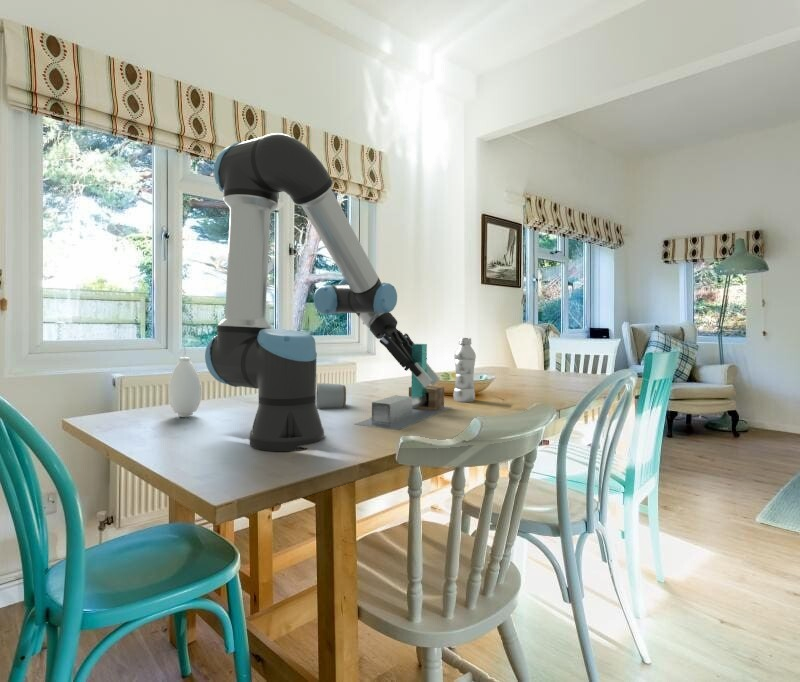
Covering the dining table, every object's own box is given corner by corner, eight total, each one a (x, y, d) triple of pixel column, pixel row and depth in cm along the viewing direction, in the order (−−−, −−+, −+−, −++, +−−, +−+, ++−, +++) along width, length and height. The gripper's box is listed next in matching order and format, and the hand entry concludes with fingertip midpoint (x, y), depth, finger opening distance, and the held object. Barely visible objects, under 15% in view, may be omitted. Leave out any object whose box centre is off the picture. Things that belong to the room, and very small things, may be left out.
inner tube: (405, 413, 127) (406, 346, 126) (394, 412, 128) (395, 345, 128) (432, 403, 142) (433, 343, 141) (422, 402, 144) (423, 342, 143)
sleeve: (389, 426, 118) (389, 404, 118) (371, 424, 120) (371, 402, 120) (412, 417, 128) (412, 396, 128) (395, 415, 131) (395, 395, 130)
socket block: (435, 410, 138) (435, 389, 137) (408, 408, 141) (408, 387, 141) (444, 407, 143) (444, 386, 143) (418, 404, 147) (418, 384, 146)
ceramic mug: (346, 411, 141) (346, 383, 140) (316, 412, 139) (316, 384, 139) (342, 405, 151) (342, 379, 151) (314, 406, 149) (314, 380, 149)
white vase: (201, 413, 137) (200, 346, 136) (201, 418, 129) (200, 347, 128) (169, 414, 134) (168, 346, 133) (167, 420, 126) (166, 348, 125)
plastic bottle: (463, 401, 160) (464, 337, 159) (479, 404, 154) (480, 338, 153) (448, 403, 156) (449, 337, 155) (464, 406, 150) (465, 338, 149)
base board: (399, 434, 114) (399, 429, 114) (354, 428, 120) (354, 424, 120) (451, 411, 143) (451, 407, 143) (413, 407, 148) (413, 403, 148)
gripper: (385, 329, 152) (436, 388, 145) (354, 330, 136) (409, 396, 129) (401, 311, 149) (453, 370, 142) (371, 310, 133) (428, 377, 127)
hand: (432, 382), depth 136 cm, fingers open, 4 cm apart
